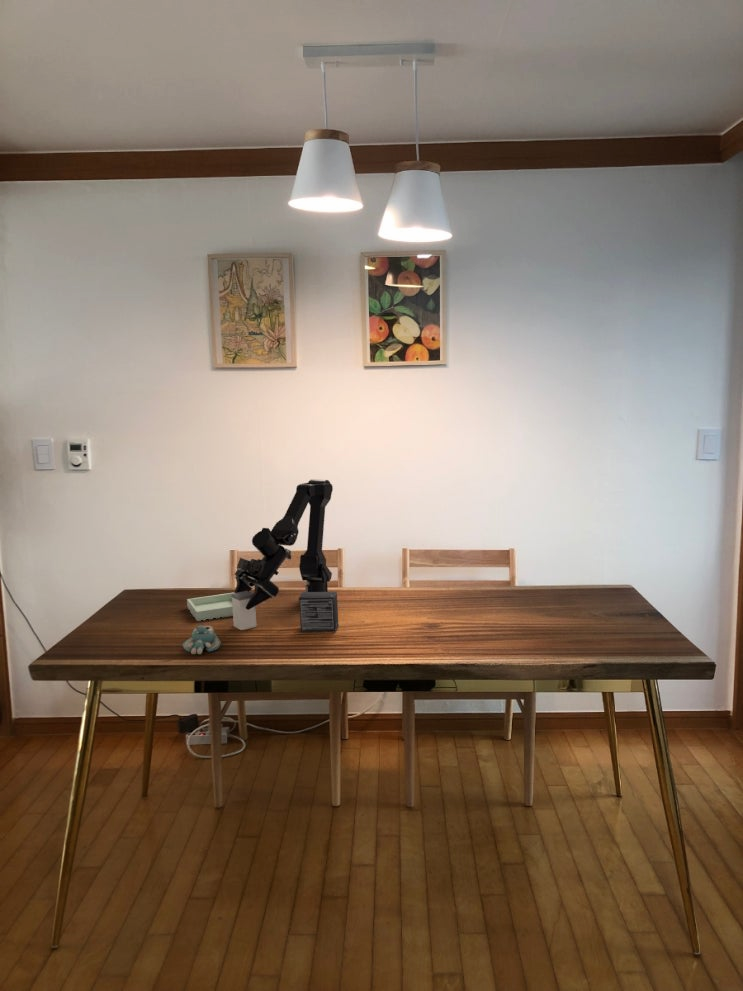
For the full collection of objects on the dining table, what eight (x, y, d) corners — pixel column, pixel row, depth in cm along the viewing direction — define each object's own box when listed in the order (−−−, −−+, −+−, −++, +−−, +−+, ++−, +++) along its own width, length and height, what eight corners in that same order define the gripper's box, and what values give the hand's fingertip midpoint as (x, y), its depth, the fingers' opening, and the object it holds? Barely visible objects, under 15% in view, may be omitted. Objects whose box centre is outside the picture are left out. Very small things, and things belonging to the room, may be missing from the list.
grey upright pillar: (248, 622, 242) (246, 590, 240) (256, 626, 238) (254, 594, 236) (233, 626, 239) (231, 593, 238) (241, 630, 235) (239, 597, 234)
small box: (339, 625, 237) (337, 590, 235) (336, 632, 230) (334, 597, 229) (304, 625, 238) (302, 591, 236) (300, 632, 231) (298, 597, 230)
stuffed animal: (174, 639, 213) (186, 617, 224) (177, 662, 215) (189, 639, 227) (214, 638, 212) (224, 616, 224) (217, 662, 215) (226, 639, 226)
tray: (235, 601, 265) (234, 592, 265) (247, 613, 251) (246, 604, 251) (187, 608, 259) (187, 599, 259) (197, 621, 245) (196, 611, 245)
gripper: (238, 542, 245) (207, 584, 240) (267, 552, 230) (234, 597, 225) (262, 563, 250) (232, 604, 246) (292, 574, 235) (261, 618, 231)
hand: (239, 605), depth 237 cm, fingers open, 9 cm apart
